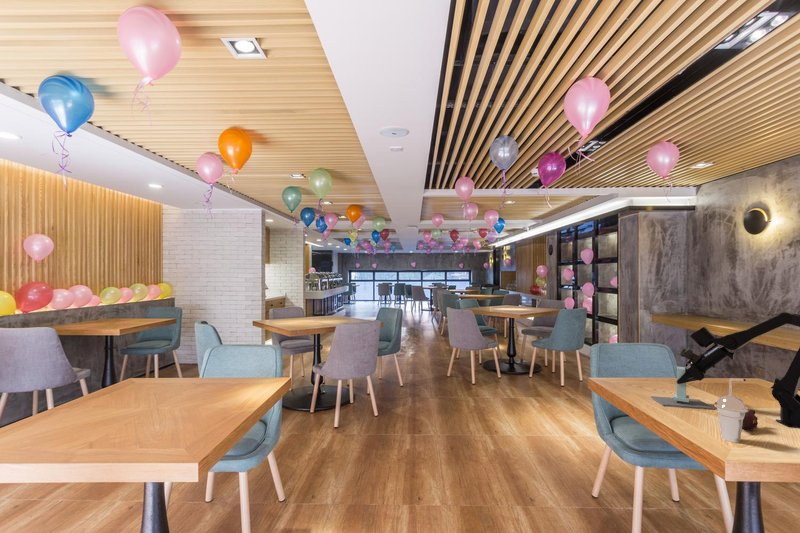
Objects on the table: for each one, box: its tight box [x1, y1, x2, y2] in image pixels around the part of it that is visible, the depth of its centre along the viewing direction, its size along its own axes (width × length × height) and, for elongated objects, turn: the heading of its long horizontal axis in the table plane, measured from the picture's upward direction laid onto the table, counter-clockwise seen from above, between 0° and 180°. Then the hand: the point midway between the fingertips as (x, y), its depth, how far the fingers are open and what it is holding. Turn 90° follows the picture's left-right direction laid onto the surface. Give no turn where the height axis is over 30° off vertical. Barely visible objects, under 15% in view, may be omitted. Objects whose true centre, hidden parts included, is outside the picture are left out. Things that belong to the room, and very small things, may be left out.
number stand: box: [673, 365, 690, 402], centre depth 171 cm, size 5×7×12 cm
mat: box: [650, 395, 716, 411], centre depth 170 cm, size 12×18×1 cm, turn 79°
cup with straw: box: [713, 377, 749, 444], centre depth 132 cm, size 8×9×20 cm
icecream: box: [742, 409, 759, 432], centre depth 142 cm, size 7×7×15 cm
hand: (677, 381), depth 171 cm, fingers closed on number stand, 5 cm apart
